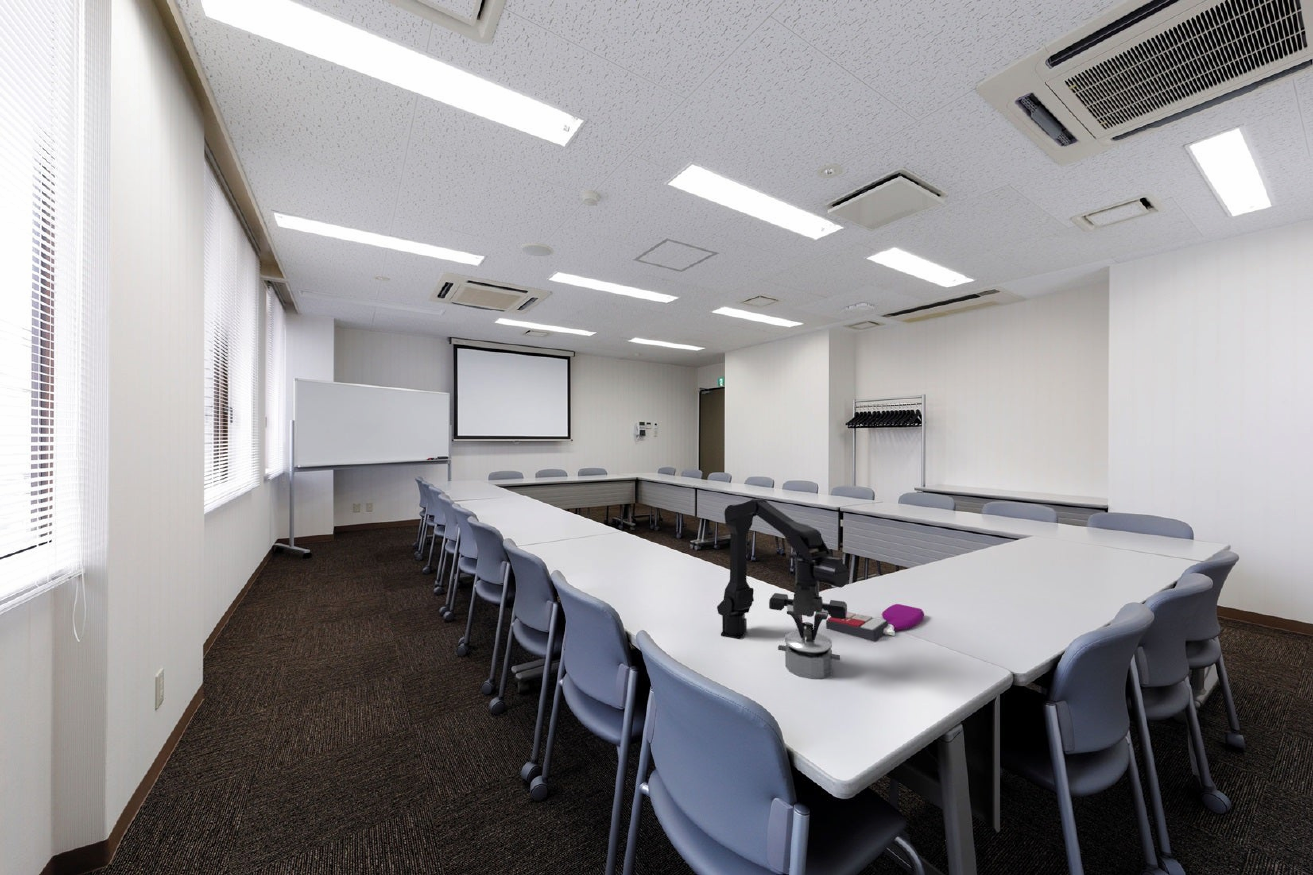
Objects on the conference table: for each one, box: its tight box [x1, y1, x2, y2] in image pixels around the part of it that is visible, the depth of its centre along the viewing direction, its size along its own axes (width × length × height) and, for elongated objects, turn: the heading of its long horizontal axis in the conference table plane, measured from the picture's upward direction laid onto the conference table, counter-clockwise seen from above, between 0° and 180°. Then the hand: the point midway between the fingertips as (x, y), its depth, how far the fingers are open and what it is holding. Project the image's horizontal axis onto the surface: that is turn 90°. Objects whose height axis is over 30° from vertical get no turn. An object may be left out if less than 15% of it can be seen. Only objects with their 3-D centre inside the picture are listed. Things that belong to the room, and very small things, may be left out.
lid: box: [784, 621, 833, 653], centre depth 124 cm, size 12×12×6 cm
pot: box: [777, 643, 841, 680], centre depth 124 cm, size 15×11×5 cm
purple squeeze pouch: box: [881, 603, 925, 637], centre depth 153 cm, size 3×11×24 cm
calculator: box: [825, 611, 888, 643], centre depth 149 cm, size 11×4×15 cm
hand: (808, 638), depth 124 cm, fingers closed on lid, 3 cm apart
